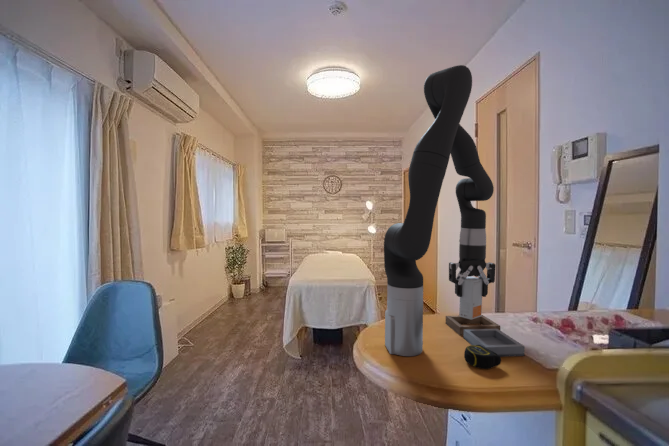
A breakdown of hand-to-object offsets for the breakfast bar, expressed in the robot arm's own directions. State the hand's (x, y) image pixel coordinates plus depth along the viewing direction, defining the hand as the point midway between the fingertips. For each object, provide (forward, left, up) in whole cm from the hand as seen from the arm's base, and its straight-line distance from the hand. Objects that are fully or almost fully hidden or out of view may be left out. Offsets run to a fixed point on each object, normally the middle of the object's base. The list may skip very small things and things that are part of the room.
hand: (471, 296), depth 99 cm
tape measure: (-9, -22, -11) cm, 26 cm away
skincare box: (0, 0, -7) cm, 7 cm away
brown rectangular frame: (0, 0, -10) cm, 10 cm away
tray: (-1, -13, -10) cm, 17 cm away
